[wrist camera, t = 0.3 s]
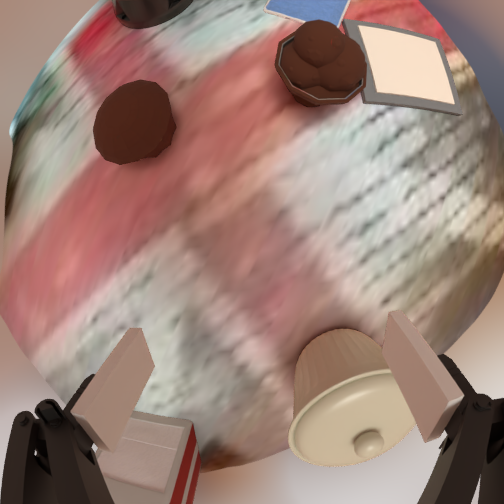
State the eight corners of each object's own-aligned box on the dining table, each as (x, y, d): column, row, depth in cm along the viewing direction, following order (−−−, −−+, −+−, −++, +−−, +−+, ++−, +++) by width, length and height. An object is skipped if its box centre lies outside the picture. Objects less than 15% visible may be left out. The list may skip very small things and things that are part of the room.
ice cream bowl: (267, 117, 35) (270, 72, 20) (278, 53, 33) (286, -7, 18) (340, 133, 35) (383, 101, 20) (347, 69, 33) (383, 19, 18)
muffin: (154, 182, 37) (122, 179, 27) (103, 148, 36) (66, 139, 26) (200, 114, 35) (181, 89, 25) (145, 84, 34) (116, 59, 24)
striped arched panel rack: (139, 453, 50) (105, 532, 23) (119, 407, 46) (66, 498, 20) (202, 464, 49) (184, 555, 23) (193, 420, 46) (161, 533, 19)
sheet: (357, 26, 30) (358, 25, 29) (433, 43, 29) (435, 42, 28) (375, 92, 32) (377, 91, 32) (453, 104, 31) (454, 104, 31)
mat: (342, 22, 31) (343, 18, 30) (436, 41, 30) (439, 39, 28) (363, 103, 34) (365, 101, 33) (458, 115, 33) (462, 114, 32)
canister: (258, 370, 43) (255, 474, 22) (331, 288, 39) (388, 368, 19) (334, 409, 44) (359, 497, 24) (401, 342, 41) (463, 416, 20)
